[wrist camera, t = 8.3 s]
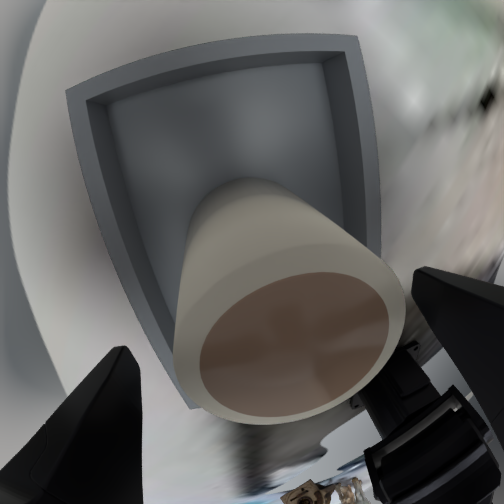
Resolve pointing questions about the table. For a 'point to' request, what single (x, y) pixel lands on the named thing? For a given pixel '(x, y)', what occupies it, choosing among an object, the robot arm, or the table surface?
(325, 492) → the brown wooden mallet
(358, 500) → the unicorn figurine
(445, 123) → the table surface
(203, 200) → the ceramic cup
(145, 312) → the desk tray
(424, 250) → the table surface
